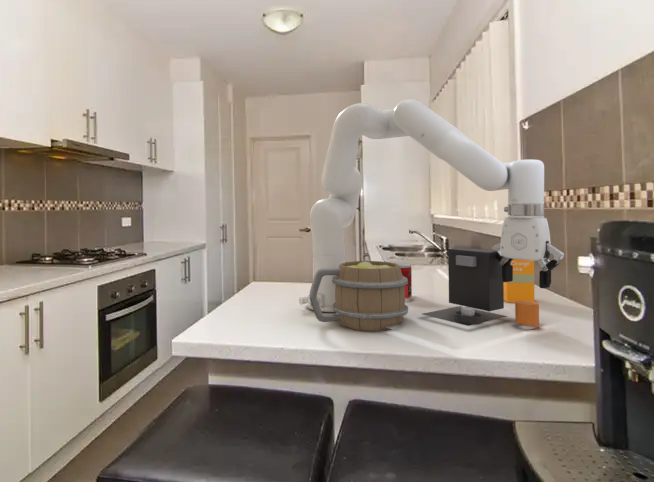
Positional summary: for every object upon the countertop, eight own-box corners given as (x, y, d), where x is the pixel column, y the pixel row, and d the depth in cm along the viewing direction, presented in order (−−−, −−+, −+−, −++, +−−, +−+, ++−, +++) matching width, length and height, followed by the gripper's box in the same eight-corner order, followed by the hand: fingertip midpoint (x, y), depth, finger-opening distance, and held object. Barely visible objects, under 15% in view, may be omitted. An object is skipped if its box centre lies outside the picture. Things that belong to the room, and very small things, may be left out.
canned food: (414, 301, 138) (414, 265, 138) (388, 301, 138) (388, 265, 138) (407, 296, 146) (407, 262, 146) (383, 296, 146) (382, 262, 146)
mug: (303, 316, 121) (302, 260, 121) (391, 312, 124) (391, 258, 124) (317, 336, 102) (317, 270, 102) (421, 331, 105) (420, 267, 106)
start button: (469, 317, 108) (469, 310, 108) (458, 314, 111) (458, 307, 111) (477, 315, 110) (477, 308, 110) (466, 313, 112) (466, 306, 112)
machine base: (469, 331, 106) (469, 318, 106) (420, 318, 118) (420, 306, 118) (509, 321, 114) (509, 309, 114) (459, 310, 126) (459, 299, 126)
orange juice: (506, 302, 136) (505, 235, 136) (499, 296, 144) (498, 233, 145) (535, 303, 134) (534, 235, 134) (526, 297, 143) (525, 233, 143)
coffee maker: (486, 312, 111) (485, 253, 111) (444, 303, 122) (444, 249, 122) (504, 308, 115) (503, 251, 115) (462, 300, 126) (462, 247, 126)
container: (531, 331, 105) (531, 305, 105) (511, 326, 109) (510, 301, 109) (543, 328, 108) (543, 303, 108) (522, 323, 112) (522, 299, 112)
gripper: (483, 211, 113) (482, 280, 113) (555, 212, 98) (554, 292, 98) (501, 210, 117) (500, 278, 117) (573, 212, 102) (572, 289, 102)
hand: (525, 284), depth 108 cm, fingers open, 8 cm apart
